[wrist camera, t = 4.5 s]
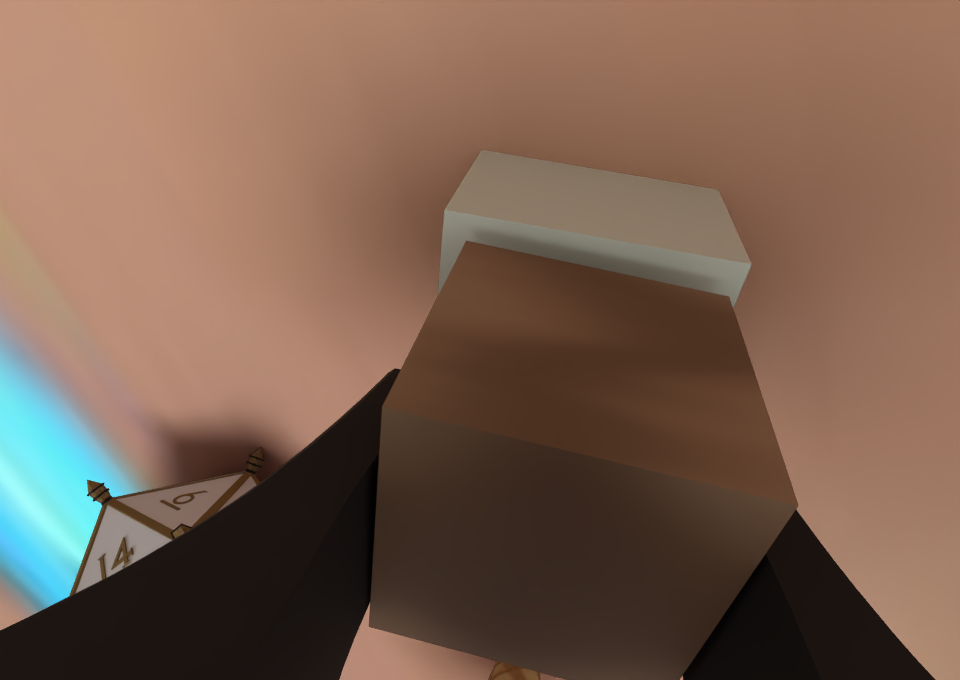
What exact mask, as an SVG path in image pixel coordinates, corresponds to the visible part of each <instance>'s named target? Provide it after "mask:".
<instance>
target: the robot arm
mask: <svg viewBox="0 0 960 680" xmlns="http://www.w3.org/2000/svg"><path fill="white" fill-rule="evenodd" d="M399 372H400V369H394V370H392V371H390V372H389V373H388V374H387V375H386V376H385V377H384V378H382V379H381V380H380V381H379V382H378V383H377V384H376V385H375V386H374V387H373V388H372V389H371V390H370V391H369V392H368V393H367V394H366V395H365V396H364V397H363V398H362V399H361V400H360V401H358V402H357V403H356V404H355V405H354V406H353V407H352V408H351V409H350V410H349V411H348V412H346V413H345V414H344V415H343V416H342V417H341V418H340V419H339V420H337V421H336V422H335V423H334V424H333V425H332V426H330V427H329V428H328V429H327V430H326V431H324V432H323V433H322V434H321V435H320V436H319V437H317V438H316V439H315V440H314V441H313V442H312V443H310V444H309V445H308V446H307V447H306V448H304V449H303V450H302V451H301V452H299V453H298V454H297V455H295V456H294V457H293V458H291V459H290V460H289V461H288V462H286V463H285V464H284V465H282V466H281V467H280V468H278V469H277V470H276V471H275V472H273V473H272V474H271V475H269V476H268V477H267V478H265V479H264V480H263V481H261V482H260V483H259V484H257V485H256V486H255V487H253V488H252V489H250V490H249V491H247V492H246V493H245V494H243V495H242V496H240V497H239V498H238V499H236V500H235V501H233V502H232V503H230V504H229V505H227V506H226V507H224V508H223V509H221V510H220V511H218V512H217V513H215V514H213V515H212V516H210V517H209V518H207V519H206V520H204V521H203V522H201V523H200V524H198V525H196V526H195V527H193V528H192V529H190V530H188V531H187V532H185V533H183V534H182V535H180V536H178V537H177V538H175V539H173V540H172V541H170V542H168V543H167V544H165V545H163V546H162V547H160V548H158V549H156V550H155V551H153V552H151V553H150V554H148V555H146V556H145V557H143V558H141V559H139V560H138V561H136V562H134V563H132V564H130V565H129V566H127V567H125V568H123V569H121V570H120V571H118V572H116V573H114V574H112V575H110V576H109V577H107V578H105V579H103V580H101V581H99V582H97V583H95V584H93V585H91V586H89V587H87V588H85V589H83V590H81V591H79V592H77V593H75V594H73V595H71V596H69V597H67V598H65V599H63V600H61V601H59V602H57V603H55V604H53V605H51V606H49V607H48V608H46V609H44V610H42V611H40V612H38V613H36V614H34V615H32V616H30V617H28V618H26V619H24V620H21V621H19V622H17V623H15V624H13V625H11V626H9V627H7V628H5V629H3V630H0V680H339V679H340V676H341V673H342V670H343V667H344V664H345V661H346V659H347V656H348V654H349V651H350V648H351V646H352V643H353V641H354V638H355V636H356V633H357V631H358V629H359V626H360V624H361V622H362V619H363V617H364V615H365V612H366V610H367V608H368V605H369V603H370V599H371V583H372V566H373V549H374V533H375V516H376V500H377V483H378V466H379V450H380V433H381V416H382V406H383V404H384V402H385V400H386V398H387V396H388V394H389V392H390V390H391V388H392V386H393V384H394V382H395V380H396V378H397V376H398V374H399ZM683 680H935V679H934V678H933V677H932V676H931V675H930V673H929V672H928V671H927V670H926V669H925V668H924V667H923V666H922V665H921V664H920V663H919V662H918V661H917V659H916V658H915V657H914V656H913V655H912V654H911V653H910V652H909V650H908V649H907V648H906V647H905V646H904V645H903V644H902V642H901V641H900V640H899V639H898V638H897V637H896V636H895V634H894V633H893V632H892V631H891V630H890V629H889V627H888V626H887V625H886V624H885V623H884V621H883V620H882V619H881V618H880V617H879V615H878V614H877V613H876V612H875V611H874V609H873V608H872V607H871V606H870V604H869V603H868V602H867V601H866V600H865V598H864V597H863V596H862V595H861V594H860V592H859V591H858V590H857V589H856V588H855V586H854V585H853V584H852V583H851V581H850V580H849V579H848V577H847V576H846V575H845V574H844V572H843V571H842V570H841V569H840V567H839V566H838V565H837V564H836V562H835V561H834V560H833V558H832V557H831V556H830V554H829V553H828V552H827V551H826V549H825V548H824V547H823V545H822V544H821V543H820V541H819V540H818V539H817V537H816V536H815V535H814V533H813V532H812V531H811V529H810V528H809V526H808V525H807V524H806V522H805V521H804V520H803V518H802V517H801V516H800V514H799V513H798V511H797V510H795V511H794V513H793V514H792V516H791V517H790V519H789V520H788V522H787V523H786V525H785V526H784V528H783V529H782V530H781V532H780V533H779V535H778V536H777V538H776V539H775V541H774V542H773V544H772V545H771V547H770V548H769V549H768V551H767V552H766V554H765V555H764V557H763V558H762V560H761V561H760V563H759V564H758V566H757V567H756V569H755V570H754V571H753V573H752V574H751V576H750V577H749V579H748V580H747V582H746V583H745V585H744V586H743V588H742V589H741V590H740V592H739V593H738V595H737V596H736V598H735V599H734V601H733V602H732V604H731V605H730V607H729V608H728V610H727V611H726V612H725V614H724V615H723V617H722V618H721V620H720V621H719V623H718V624H717V626H716V627H715V629H714V630H713V631H712V633H711V634H710V636H709V637H708V639H707V640H706V642H705V643H704V645H703V646H702V648H701V649H700V651H699V652H698V653H697V655H696V656H695V658H694V659H693V661H692V662H691V664H690V665H689V667H688V668H687V670H686V671H685V672H684V674H683Z"/></svg>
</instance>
